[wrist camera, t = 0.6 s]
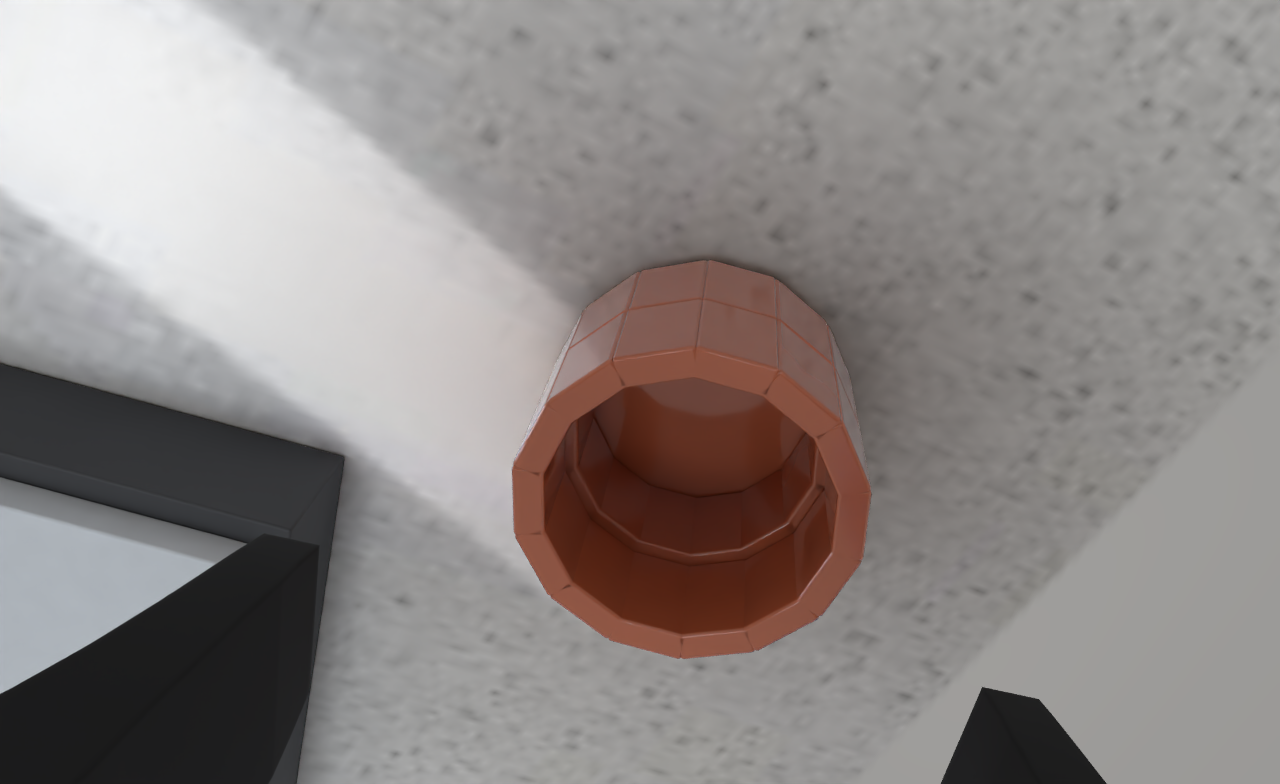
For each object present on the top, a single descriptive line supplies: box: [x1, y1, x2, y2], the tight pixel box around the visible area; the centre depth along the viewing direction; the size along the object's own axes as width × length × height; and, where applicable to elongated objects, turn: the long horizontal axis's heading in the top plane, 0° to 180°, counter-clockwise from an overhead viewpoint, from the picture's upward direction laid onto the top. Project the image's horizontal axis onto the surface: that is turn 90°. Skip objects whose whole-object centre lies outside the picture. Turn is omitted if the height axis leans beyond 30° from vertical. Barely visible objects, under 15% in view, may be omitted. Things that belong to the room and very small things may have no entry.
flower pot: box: [512, 260, 872, 659], centre depth 18 cm, size 5×6×4 cm
